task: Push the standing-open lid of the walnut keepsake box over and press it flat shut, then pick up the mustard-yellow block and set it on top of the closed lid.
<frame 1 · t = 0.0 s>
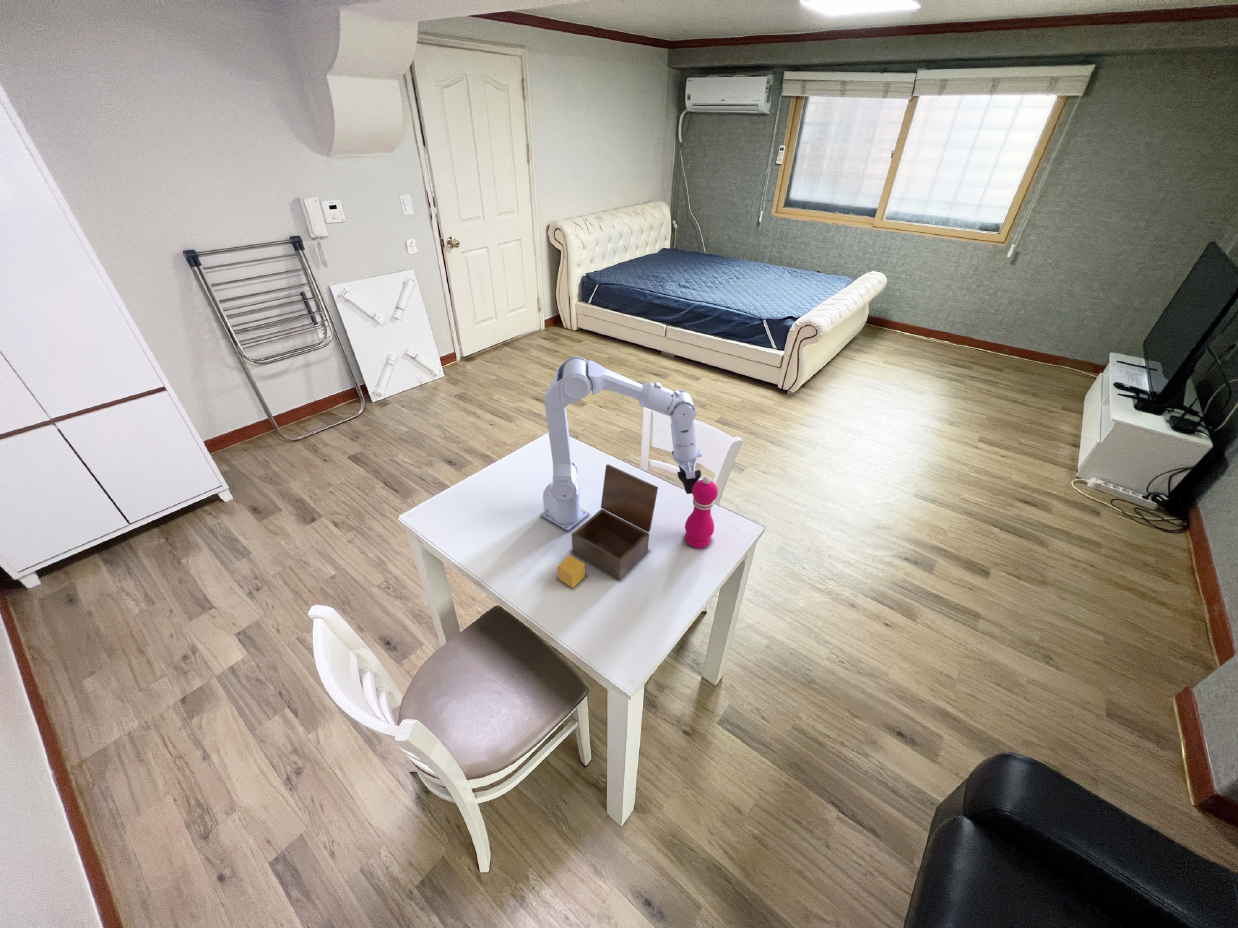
hand: (688, 483, 126), 11 cm above the table, tool pointing down, fingers open, 7 cm apart
box lid: (628, 498, 118), point 13 cm above the table, hinge at 100.0°
pepper mill: (697, 540, 125), on the table
mustard block: (571, 577, 114), on the table
keepsake box: (610, 551, 121), on the table
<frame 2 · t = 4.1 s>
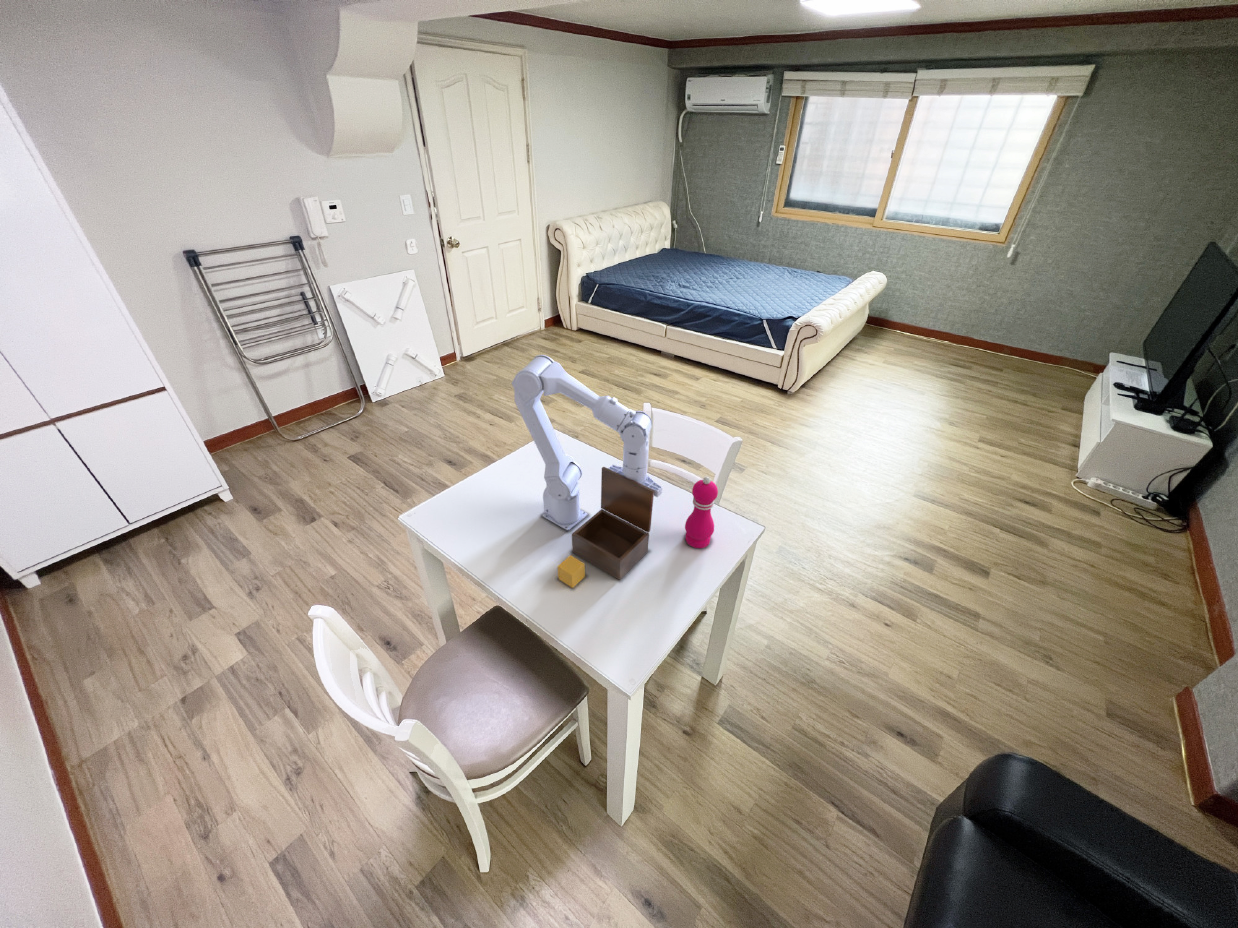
hand: (633, 506, 122), 8 cm above the table, tool pointing down, fingers closed, pressing on box lid
box lid: (625, 499, 117), point 13 cm above the table, hinge at 92.2°, touching gripper
everything else where it was.
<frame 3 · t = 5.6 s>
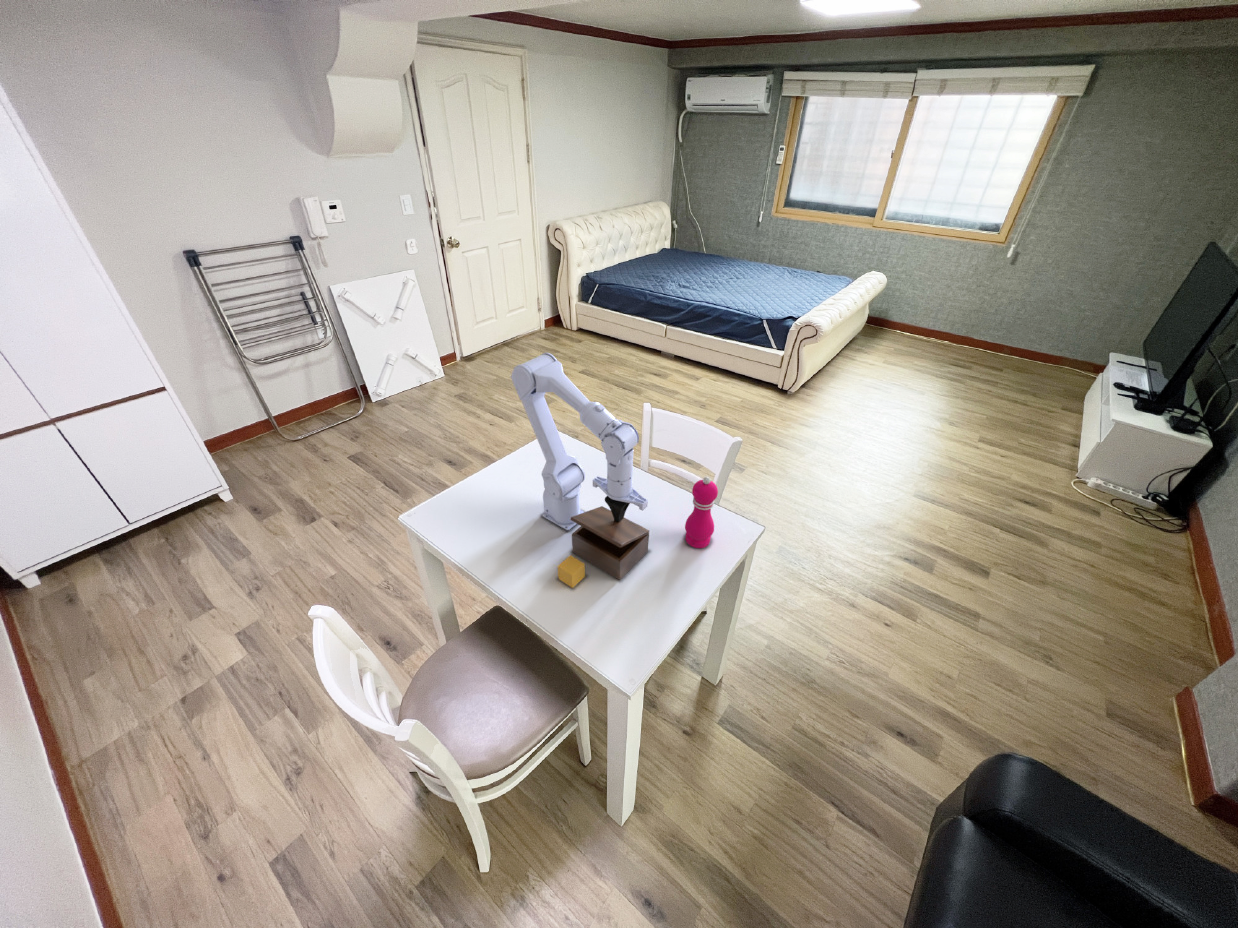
hand: (618, 519, 118), 8 cm above the table, tool pointing down, fingers closed
box lid: (610, 525, 115), point 9 cm above the table, hinge at 21.2°
everything else where it was.
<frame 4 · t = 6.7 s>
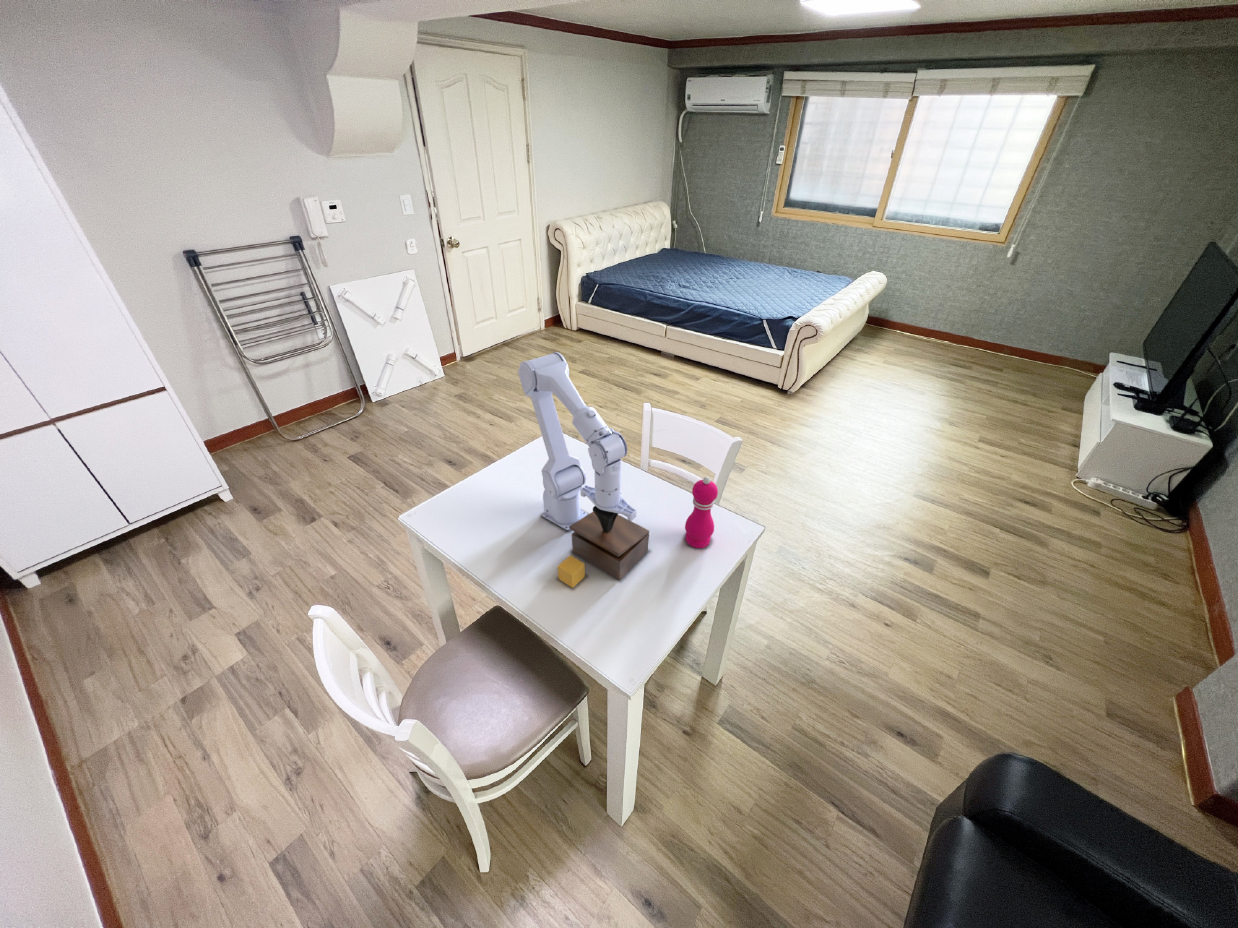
hand: (607, 529, 115), 8 cm above the table, tool pointing down, fingers closed
box lid: (609, 529, 116), point 8 cm above the table, hinge at 9.9°
everything else where it was.
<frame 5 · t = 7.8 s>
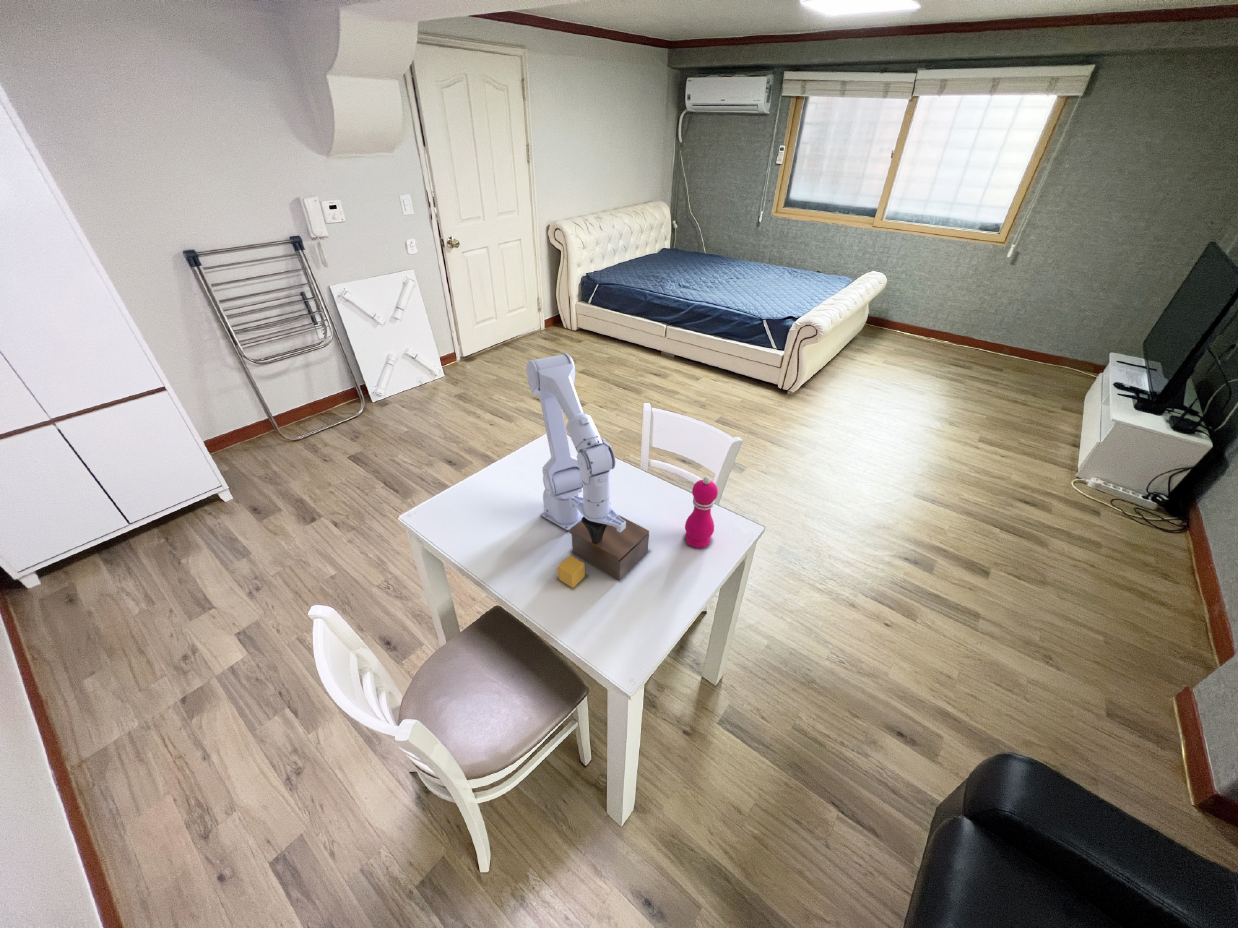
hand: (597, 540, 113), 8 cm above the table, tool pointing down, fingers closed, pressing on box lid
box lid: (609, 531, 116), point 7 cm above the table, hinge at 4.5°, touching gripper
everything else where it was.
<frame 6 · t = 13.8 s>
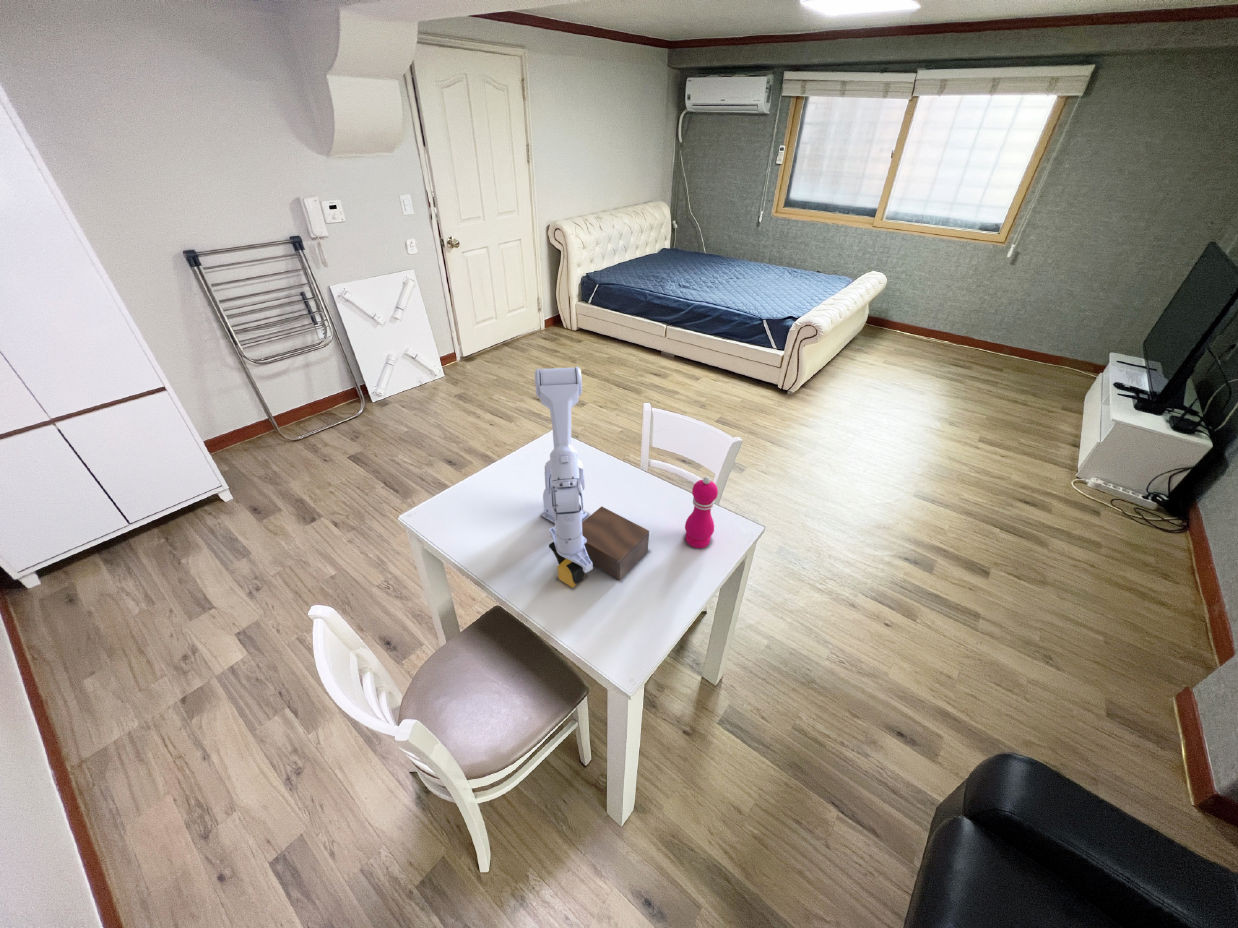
hand: (571, 573, 113), 1 cm above the table, tool pointing down, fingers closed on mustard block, 5 cm apart
box lid: (609, 532, 116), point 7 cm above the table, hinge at 1.0°
mustard block: (571, 577, 114), on the table, touching gripper
everything else where it was.
when the fingers open (9 cm above the table, at t = 17.4 s): mustard block stays where it is, resting on box lid.
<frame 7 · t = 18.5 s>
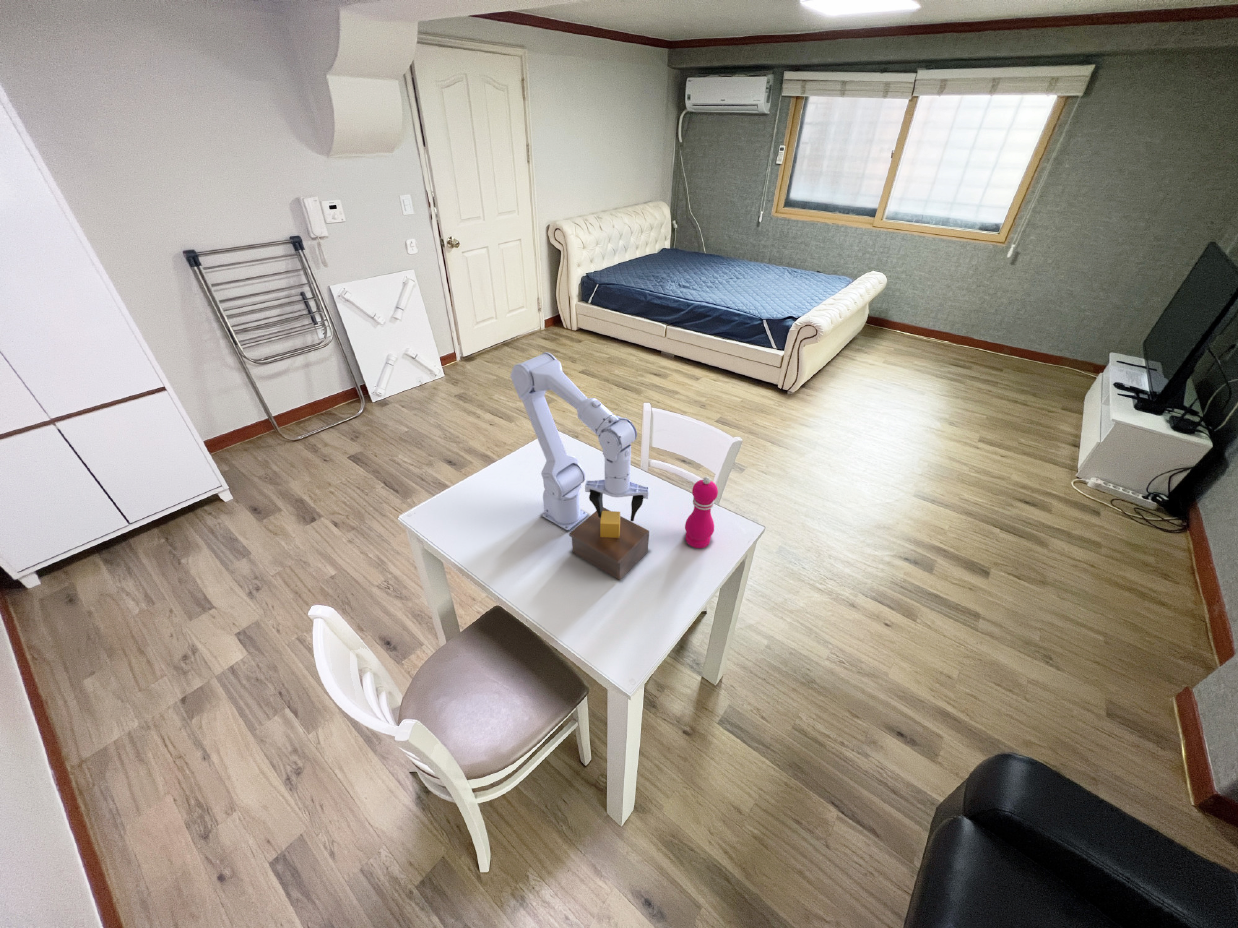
hand: (616, 516, 116), 10 cm above the table, tool pointing down, fingers open, 7 cm apart
box lid: (609, 533, 116), point 7 cm above the table, hinge at -0.3°, touching keepsake box, mustard block
mustard block: (610, 531, 117), point 7 cm above the table, touching box lid, gripper
everything else where it was.
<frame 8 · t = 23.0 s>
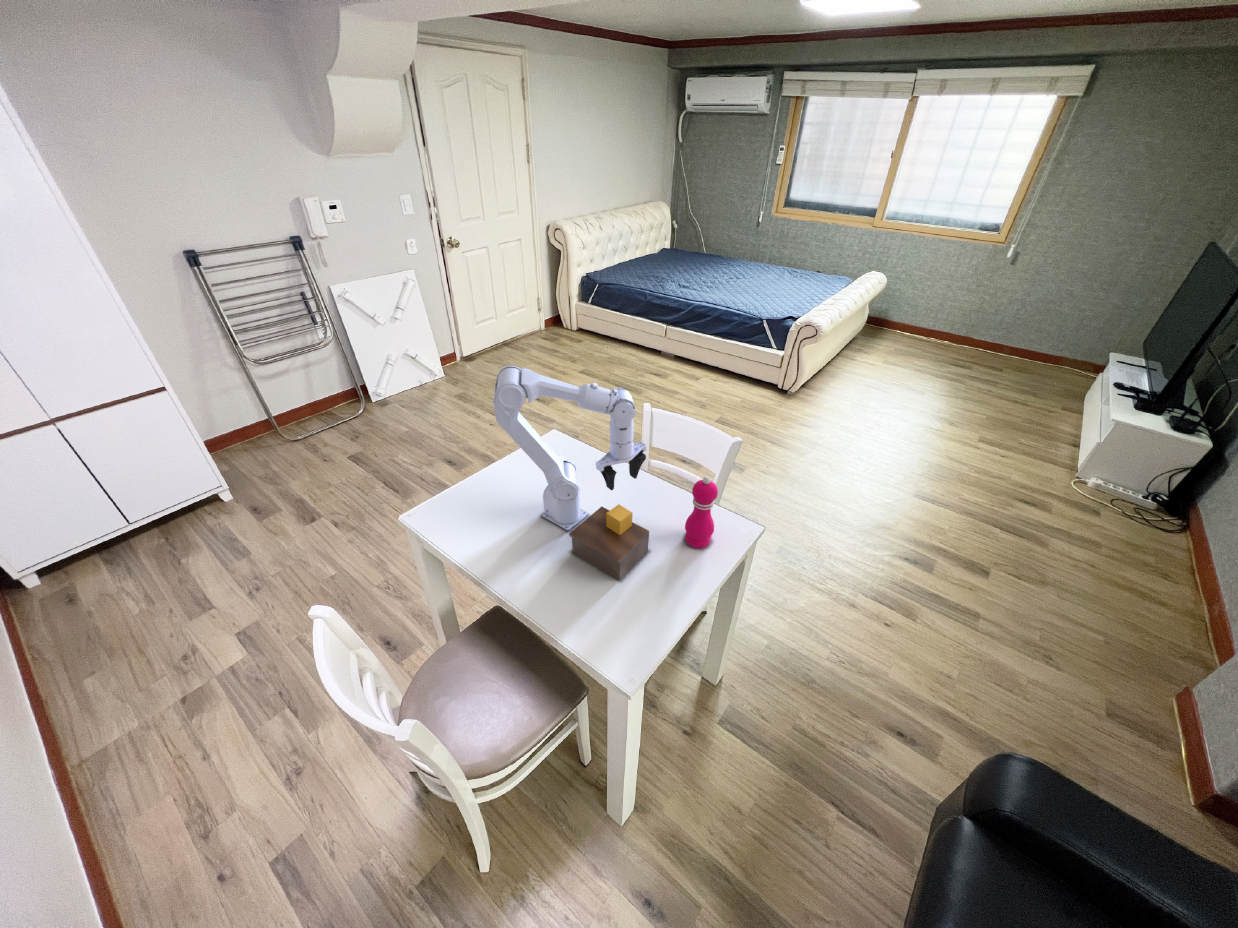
hand: (621, 482, 126), 10 cm above the table, tool pointing down, fingers open, 7 cm apart
mustard block: (619, 526, 118), point 7 cm above the table, touching box lid
everything else where it was.
at the end: box lid at +0° (first picture: +100°); mustard block inside the target area on the keepsake box (2.7 cm from its centre), point 7.0 cm above the keepsake box's base; mustard block tilted 0° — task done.
